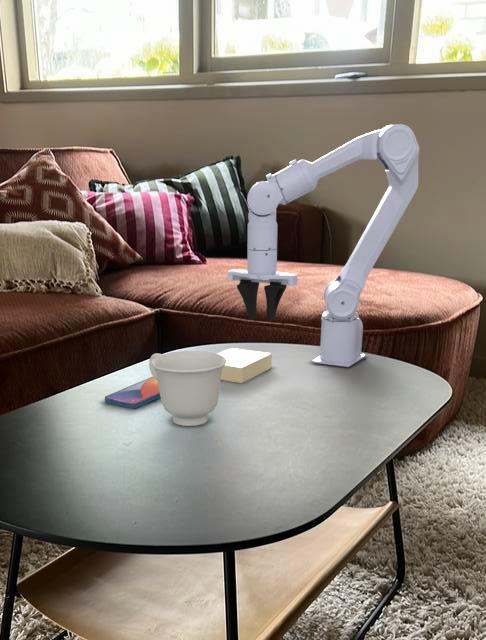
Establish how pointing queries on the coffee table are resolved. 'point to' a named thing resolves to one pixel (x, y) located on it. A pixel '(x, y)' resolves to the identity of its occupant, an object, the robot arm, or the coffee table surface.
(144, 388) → the smartphone
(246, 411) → the coffee table surface
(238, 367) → the book
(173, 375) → the teacup
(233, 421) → the coffee table surface
